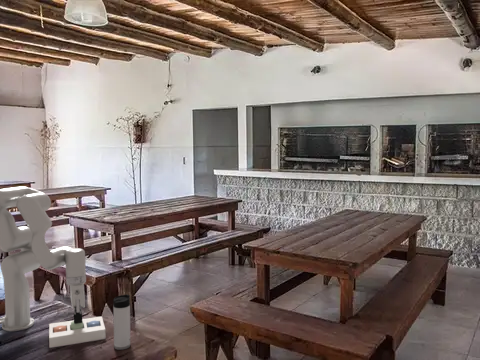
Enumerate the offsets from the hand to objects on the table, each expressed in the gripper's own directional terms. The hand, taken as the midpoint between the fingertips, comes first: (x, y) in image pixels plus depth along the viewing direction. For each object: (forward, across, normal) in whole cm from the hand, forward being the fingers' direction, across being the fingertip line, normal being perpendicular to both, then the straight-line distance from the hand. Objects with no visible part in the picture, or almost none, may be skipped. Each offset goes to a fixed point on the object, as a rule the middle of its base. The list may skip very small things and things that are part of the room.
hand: (78, 322), depth 180 cm
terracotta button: (+5, 0, +7) cm, 9 cm away
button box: (+6, 0, +1) cm, 6 cm away
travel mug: (+6, -16, -15) cm, 23 cm away
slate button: (+5, 0, -6) cm, 8 cm away
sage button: (+4, 0, +1) cm, 4 cm away
